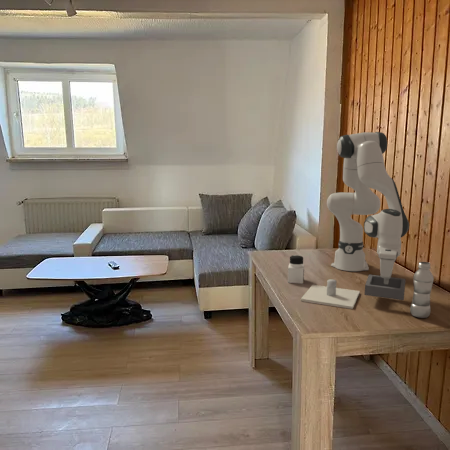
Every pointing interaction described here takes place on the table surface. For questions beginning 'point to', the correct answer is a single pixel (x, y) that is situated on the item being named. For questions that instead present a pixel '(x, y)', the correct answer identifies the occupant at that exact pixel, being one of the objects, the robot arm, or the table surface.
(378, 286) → the grey rectangular frame
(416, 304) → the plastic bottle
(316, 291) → the post stand
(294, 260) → the medicine bottle
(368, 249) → the table surface
